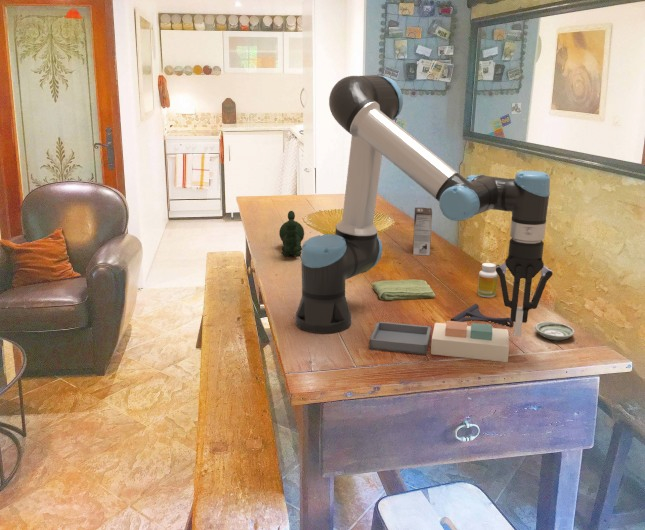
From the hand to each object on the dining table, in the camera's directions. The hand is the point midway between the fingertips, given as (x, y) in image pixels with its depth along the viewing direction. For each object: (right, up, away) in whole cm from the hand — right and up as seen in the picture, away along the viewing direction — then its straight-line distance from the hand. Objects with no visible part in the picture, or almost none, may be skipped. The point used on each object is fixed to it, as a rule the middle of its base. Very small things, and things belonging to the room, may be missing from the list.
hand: (517, 334), depth 152 cm
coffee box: (-9, +21, +87) cm, 90 cm away
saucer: (+13, -2, +12) cm, 18 cm away
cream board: (-11, -4, +4) cm, 12 cm away
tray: (-27, -3, +8) cm, 28 cm away
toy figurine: (-58, +21, +85) cm, 105 cm away
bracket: (-2, +1, +22) cm, 22 cm away
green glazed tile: (-8, -1, +2) cm, 8 cm away
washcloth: (-22, +7, +43) cm, 49 cm away
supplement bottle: (+3, +7, +42) cm, 42 cm away
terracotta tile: (-14, 0, +4) cm, 14 cm away
